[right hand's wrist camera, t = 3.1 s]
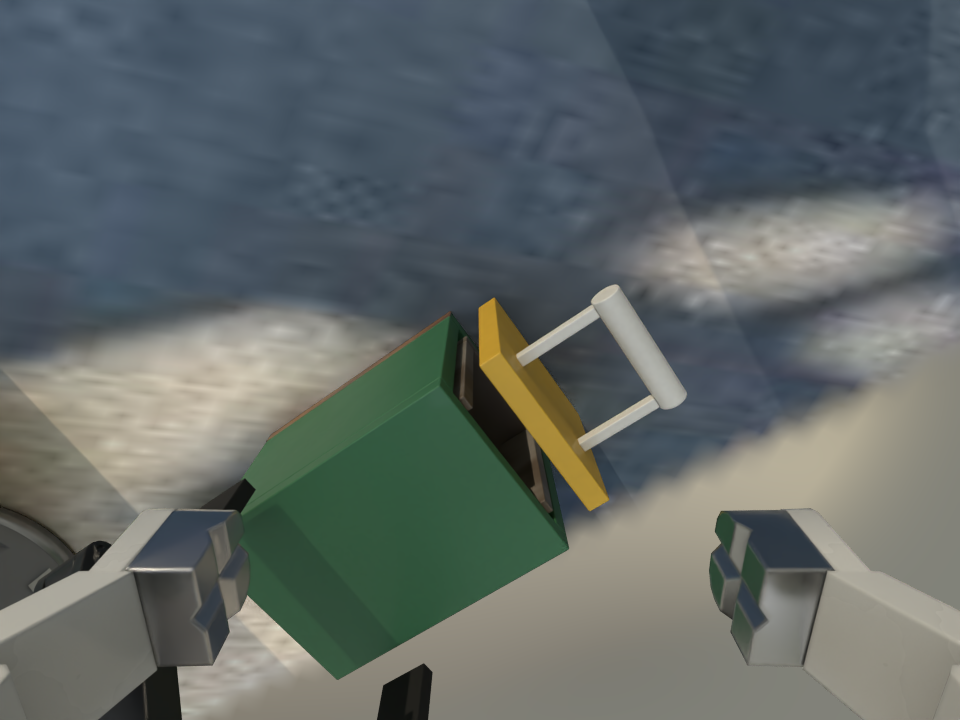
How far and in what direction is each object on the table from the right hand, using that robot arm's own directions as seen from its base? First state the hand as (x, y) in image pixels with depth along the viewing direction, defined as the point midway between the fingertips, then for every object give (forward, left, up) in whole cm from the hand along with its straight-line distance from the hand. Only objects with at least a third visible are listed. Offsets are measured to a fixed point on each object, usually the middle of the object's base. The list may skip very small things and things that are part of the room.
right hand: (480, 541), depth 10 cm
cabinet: (+10, +9, -28) cm, 31 cm away
